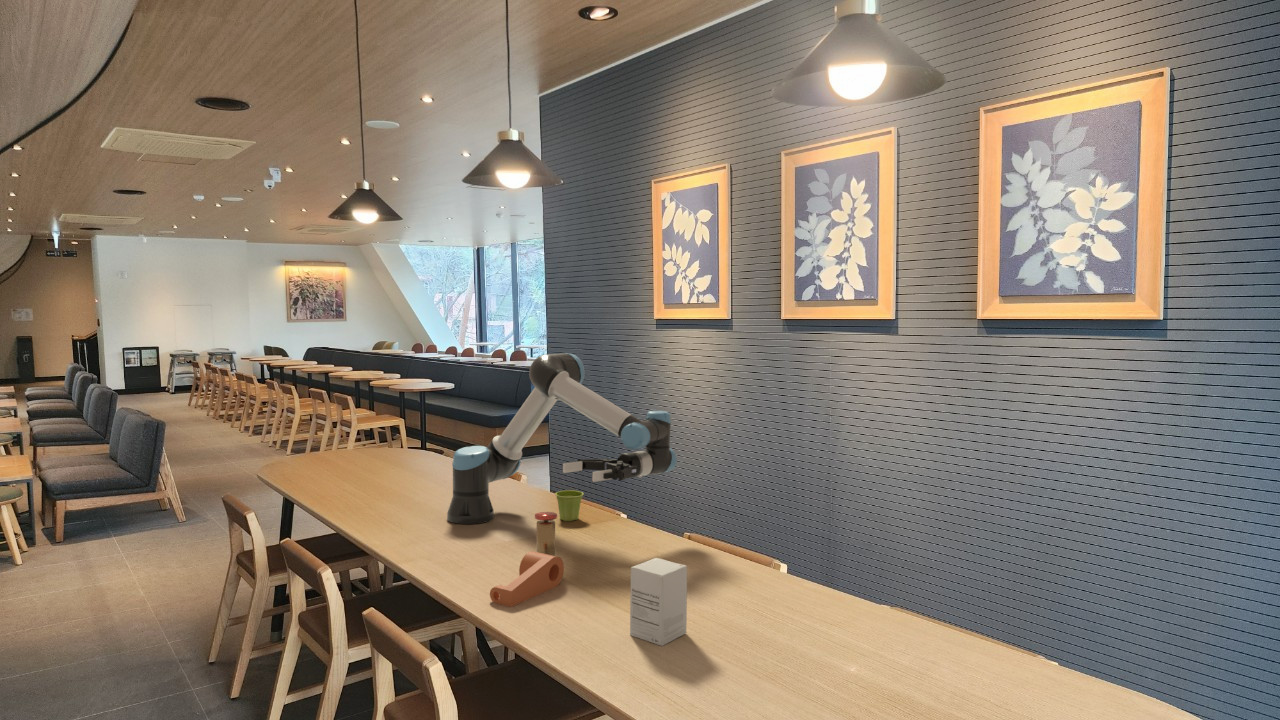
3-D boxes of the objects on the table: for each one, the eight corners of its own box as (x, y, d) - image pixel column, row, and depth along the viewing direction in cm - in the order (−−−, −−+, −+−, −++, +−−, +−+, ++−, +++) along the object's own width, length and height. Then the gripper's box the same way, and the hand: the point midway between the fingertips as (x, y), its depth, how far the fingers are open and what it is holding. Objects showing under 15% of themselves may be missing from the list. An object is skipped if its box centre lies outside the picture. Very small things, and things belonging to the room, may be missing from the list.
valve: (529, 565, 212) (529, 514, 211) (548, 560, 217) (548, 510, 216) (543, 570, 208) (543, 518, 207) (562, 565, 212) (562, 514, 211)
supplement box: (654, 622, 173) (655, 556, 173) (687, 633, 168) (688, 565, 167) (628, 635, 166) (629, 566, 166) (661, 647, 161) (662, 575, 160)
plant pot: (581, 523, 257) (582, 497, 256) (553, 522, 257) (553, 496, 256) (584, 515, 266) (584, 490, 266) (556, 515, 266) (557, 490, 266)
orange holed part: (539, 578, 203) (539, 547, 202) (563, 583, 199) (564, 553, 198) (485, 601, 186) (485, 568, 185) (511, 608, 182) (511, 574, 181)
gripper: (661, 484, 227) (605, 494, 213) (606, 469, 246) (551, 477, 231) (662, 459, 227) (606, 467, 213) (607, 445, 245) (552, 452, 231)
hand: (578, 472), depth 222 cm, fingers open, 13 cm apart
